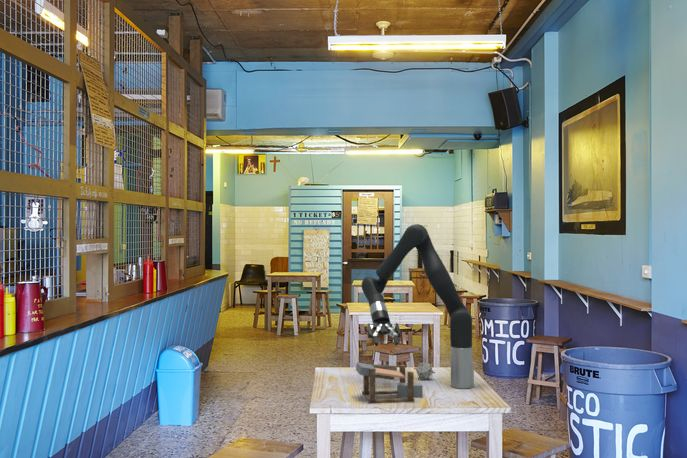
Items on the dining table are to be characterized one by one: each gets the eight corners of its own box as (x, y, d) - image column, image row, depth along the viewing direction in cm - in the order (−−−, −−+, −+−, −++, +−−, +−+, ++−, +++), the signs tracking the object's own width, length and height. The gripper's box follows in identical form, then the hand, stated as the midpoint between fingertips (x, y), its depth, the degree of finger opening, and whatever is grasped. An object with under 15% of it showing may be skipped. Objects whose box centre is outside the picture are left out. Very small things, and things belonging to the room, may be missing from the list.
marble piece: (393, 380, 279) (393, 371, 279) (361, 378, 282) (361, 369, 283) (398, 372, 295) (398, 364, 295) (368, 371, 299) (368, 362, 299)
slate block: (396, 394, 251) (421, 395, 251) (397, 397, 246) (422, 398, 246) (396, 382, 251) (421, 382, 251) (397, 385, 246) (422, 385, 246)
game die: (428, 387, 280) (441, 369, 280) (421, 383, 274) (434, 366, 273) (414, 375, 286) (427, 358, 286) (407, 371, 279) (420, 354, 279)
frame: (404, 392, 254) (404, 361, 255) (414, 401, 239) (414, 368, 239) (362, 393, 252) (362, 362, 252) (369, 403, 237) (369, 369, 237)
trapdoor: (398, 375, 252) (399, 368, 252) (404, 381, 241) (405, 373, 241) (355, 369, 249) (356, 362, 249) (360, 374, 239) (361, 367, 239)
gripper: (365, 309, 265) (372, 339, 254) (396, 308, 268) (405, 339, 257) (362, 319, 270) (368, 350, 259) (393, 319, 273) (401, 349, 262)
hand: (386, 344), depth 258 cm, fingers open, 8 cm apart
